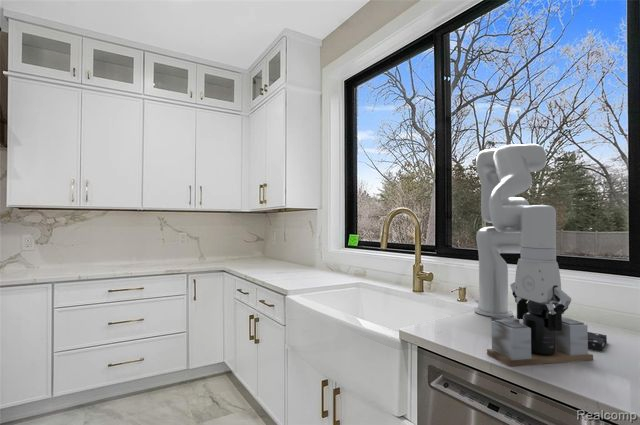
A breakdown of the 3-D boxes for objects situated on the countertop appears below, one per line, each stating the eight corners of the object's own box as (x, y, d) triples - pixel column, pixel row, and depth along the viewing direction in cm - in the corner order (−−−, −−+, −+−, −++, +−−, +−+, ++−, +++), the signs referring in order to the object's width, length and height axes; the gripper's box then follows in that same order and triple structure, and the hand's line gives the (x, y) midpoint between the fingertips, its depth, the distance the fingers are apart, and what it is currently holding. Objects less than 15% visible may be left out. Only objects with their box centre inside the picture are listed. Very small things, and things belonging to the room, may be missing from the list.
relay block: (491, 333, 106) (491, 316, 106) (499, 331, 108) (499, 314, 108) (511, 339, 101) (511, 321, 101) (519, 336, 103) (519, 319, 103)
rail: (486, 353, 88) (486, 319, 89) (564, 348, 93) (563, 315, 94) (510, 366, 81) (510, 328, 81) (593, 359, 85) (592, 323, 86)
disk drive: (606, 345, 98) (544, 332, 109) (606, 334, 98) (544, 323, 109) (602, 354, 91) (536, 340, 101) (602, 343, 91) (536, 330, 101)
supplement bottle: (516, 348, 89) (516, 300, 89) (535, 345, 92) (535, 298, 92) (541, 358, 83) (541, 306, 83) (562, 354, 85) (562, 304, 85)
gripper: (500, 251, 96) (500, 315, 95) (555, 259, 79) (555, 336, 78) (524, 251, 97) (524, 314, 97) (582, 258, 80) (583, 334, 80)
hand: (538, 324), depth 88 cm, fingers open, 9 cm apart
